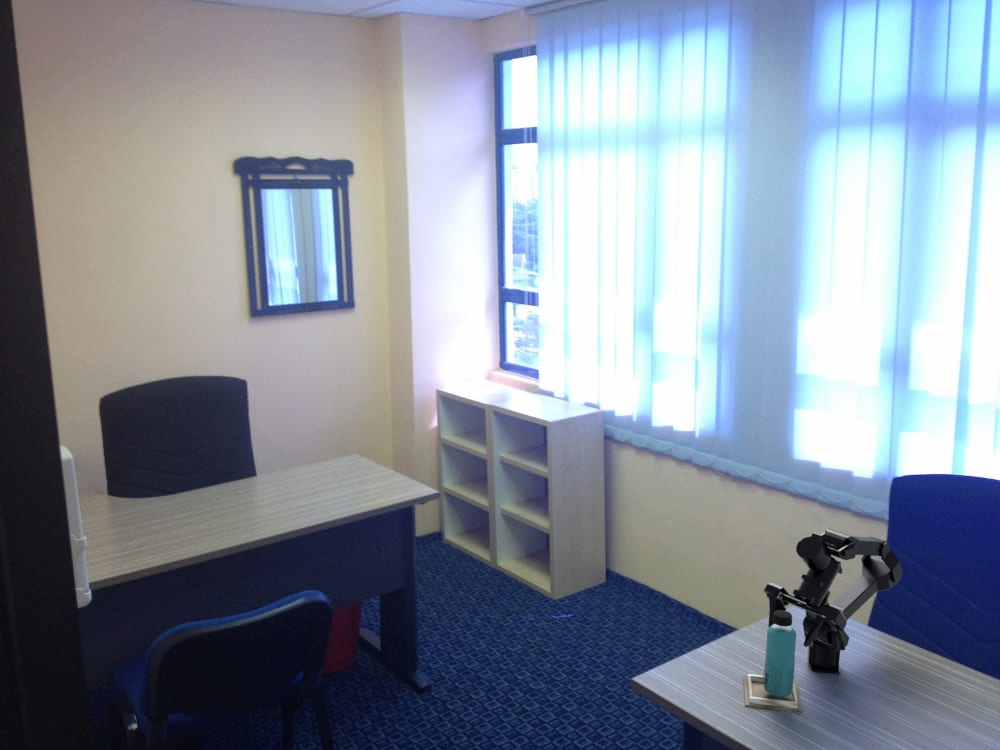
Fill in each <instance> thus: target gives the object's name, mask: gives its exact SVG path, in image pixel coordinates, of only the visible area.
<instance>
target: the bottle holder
mask: <svg viewBox="0 0 1000 750" xmlns="http://www.w3.org/2000/svg"><path fill="white" fill-rule="evenodd" d="M763 678H764V675H759V674H750V673H747V676H743V677H742V679H743V680H742V681H743V693H744V706H745V707H749V708H758V709H764V710H765V708H766V710H773V711H782V712H788V713H789V712H790V713H797V714H798V713H799V714H803V707H802V702H801V697H800V691H799V684H798V682H796V681H795V678H793V680H794V681H793V683H794V684H793V686H794V687H793V690H792V693H791V694H790V695H789V696H786V697H778V696H774V695H771V694H769V693H768V692H766V691H765V689H764V683H763V682H764V681H763Z"/></svg>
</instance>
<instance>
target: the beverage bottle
mask: <svg viewBox="0 0 1000 750" xmlns="http://www.w3.org/2000/svg"><path fill="white" fill-rule="evenodd" d="M773 623H775V624H773V625H772V626H770V627H769V628H768V627H767V629H766V645H765V646H766V647H765V649H764V650H765V659H764V661H765V662H764V669H763V676H764V678H763V681H764V682H763V683H764V689H765V691H766V692H768V693H769V694H771V695H774V696H778V697H786V696H789V695H790V694H791V693H792V690H793V687H794V686H793V684H794V683H793V681H794V682H795V679H794V678H795V666H796V665H795V664H796V663H795V662H796V642H797V631H796V630H795V629H794V628H793V627H791V626H792V625H793V614H792V613H791V612H789V611H787V610H785V611H783V610H778V611H775V612H774V615H773ZM793 679H794V680H793Z"/></svg>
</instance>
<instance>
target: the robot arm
mask: <svg viewBox="0 0 1000 750" xmlns="http://www.w3.org/2000/svg"><path fill="white" fill-rule="evenodd" d="M795 552H796V554H797V555H798V557H799V558H800V559H801V561H802V562H803V564H805V566H806V567H807V568H808V570H807V572H806V574H804V573H802V575H801V577H800V578H801V580H802V581H801V583H800V585H799V587H798V589H795V588H794V590H793V591H792V594H793V595H791V594H789V592H788V591H787V590H786V588H785V587H784V586H781V585H778V584H776V583H773V582H769V583H768V584H766V585H765V587H764V589H763V590H762V591H763V592H764V594H765V595H766V597H767V599H768V601H769V605H768V606H769V610H768V611H769V615H768V625H767V626H768V627H767V629H768V628H769V627H770V626H772V625H773V624H775V623H773V615H774V612H775V611H778V610H783V611H787V608H786V607H787V606H788V605H789V604H790V605H792V606H794V607H796V608H799V609H801V610H803V611H805V616H804V618H803V620H802V628H803V632H804V642H803V646H804V647H805V648H807V656H806V657H807V663H808V664H809V667H810V670H811V671H814V672H821V673H830V674H831V673H833V674H841V673H840V672H841V670H840V657H841V651H846V647H847V646H848V644H849V640H850V636H849V635H848V634H847V633H846V631H845V628H846V626H847V621H848V620H849V619H850V618H851V617H852V616H853V615H854V614H855V613H857V611H858V610H859V609H860V608H861V607H862V606H863V605H864V604H865V603H867V602H868V600H869V599H871V598H872V597H873V596H874V595H875V594H876V593H877V592H881V591H888V590H890V589H891V588H894V586H896V585H897V584H898V583H900V581H901V579H902V578H903V570H902V565H901V562H900V560H899V558H898V557H897V556H896V554H895V553H894V552H893V551H892V549H891V546H890V543H889V542H887V541H886V540H883V539H880V538H878V537H874V536H868V537H867V536H854V535H850V534H846V533H843V532H840V531H837V530H835V529H831V528H828V529H826V530H824V532H822V533H821V534H818V533H816V532H813V533H812V534H811V536H807V537H803V538H802V539H801V540H800V541H799V540H798V542H797V543H796V547H795ZM856 556H862V557H861V559H860V560H861V564H862V567H861V569H862V571H861V572H862V573H861V576H860V577H859V578H857V579H856V580H855V581H854V582H853V583H852V584H851V585H850V586H848V587H847V588H846V589H845V590H844V591H843V592H842V593H841V594H840V595H839V596H838V597H837V598H836V599H835V600H834V601H833V602H832V603H829V598H830V594H831V592H830V588H831V586H832V584H833V582H834V581H835V578H836V576H837V575H838V574H840V575H841V574H843V568H842V563H841V561H839V560H837V559H836V558H839V559H841V560H844V561H849V560H854V559H855V558H856ZM834 557H836V558H834Z"/></svg>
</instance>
